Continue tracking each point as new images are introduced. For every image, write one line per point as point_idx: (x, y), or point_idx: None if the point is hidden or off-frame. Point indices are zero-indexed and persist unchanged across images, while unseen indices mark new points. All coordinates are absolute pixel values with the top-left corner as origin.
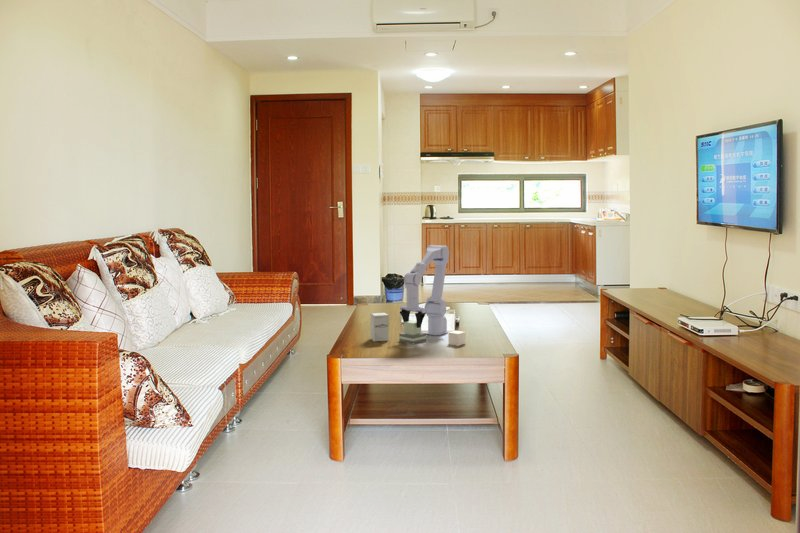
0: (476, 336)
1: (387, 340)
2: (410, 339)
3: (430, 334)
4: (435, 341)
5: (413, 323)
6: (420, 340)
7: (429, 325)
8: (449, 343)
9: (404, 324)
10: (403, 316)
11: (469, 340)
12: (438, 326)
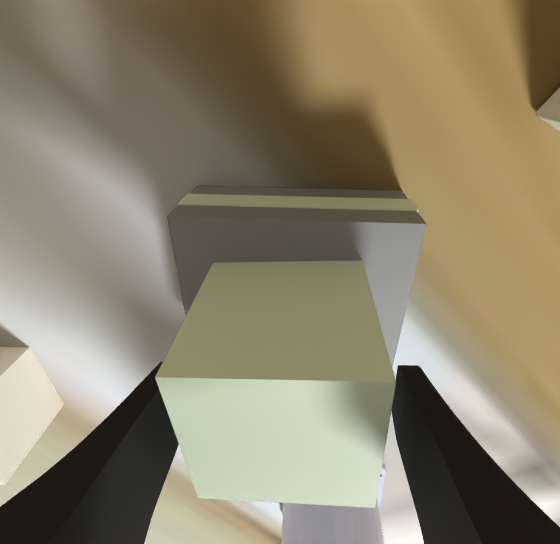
0: None
1: (548, 99)
2: (225, 199)
3: None
4: (154, 356)
5: (156, 375)
6: None
7: (349, 534)
8: (18, 351)
9: (382, 343)
10: (498, 528)
11: (62, 457)
12: (285, 537)
